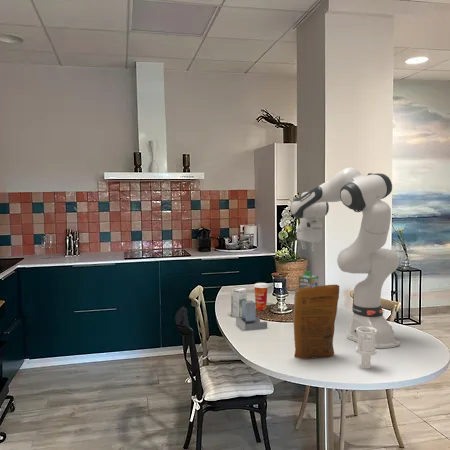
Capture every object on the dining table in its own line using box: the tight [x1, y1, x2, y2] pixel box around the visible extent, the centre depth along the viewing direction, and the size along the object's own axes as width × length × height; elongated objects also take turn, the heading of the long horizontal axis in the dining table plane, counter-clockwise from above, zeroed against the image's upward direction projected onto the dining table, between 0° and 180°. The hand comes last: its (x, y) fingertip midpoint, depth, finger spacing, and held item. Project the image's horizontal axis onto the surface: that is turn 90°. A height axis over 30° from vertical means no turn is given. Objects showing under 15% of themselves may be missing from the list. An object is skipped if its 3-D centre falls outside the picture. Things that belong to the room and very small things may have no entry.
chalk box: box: [298, 270, 319, 288], centre depth 275 cm, size 9×9×15 cm
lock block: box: [241, 300, 257, 324], centre depth 207 cm, size 5×6×12 cm
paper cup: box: [253, 282, 269, 311], centre depth 239 cm, size 8×8×14 cm
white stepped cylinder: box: [355, 327, 377, 370], centre depth 158 cm, size 7×7×15 cm
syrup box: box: [230, 286, 248, 318], centre depth 226 cm, size 6×6×14 cm
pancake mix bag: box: [292, 284, 340, 360], centre depth 168 cm, size 7×19×28 cm, turn 101°
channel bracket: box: [235, 316, 268, 332], centre depth 208 cm, size 12×10×4 cm
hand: (308, 250), depth 224 cm, fingers open, 8 cm apart
